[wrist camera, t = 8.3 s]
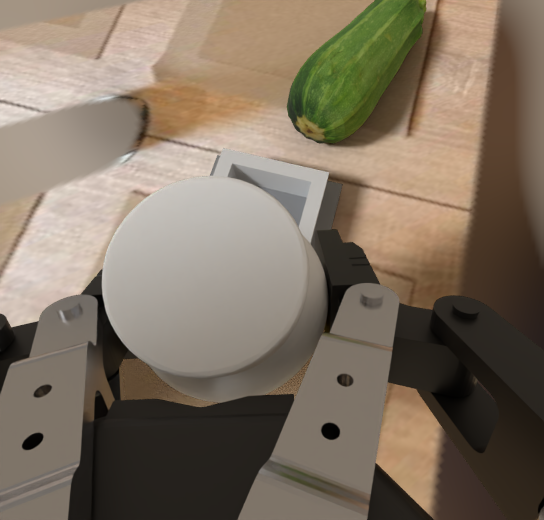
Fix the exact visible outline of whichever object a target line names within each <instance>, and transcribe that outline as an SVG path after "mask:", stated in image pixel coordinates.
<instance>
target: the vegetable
mask: <svg viewBox="0 0 544 520" xmlns="http://www.w3.org/2000/svg"><path fill="white" fill-rule="evenodd" d="M425 12H426V0H375V1H374V2H373V3H372V4H370V5H369V6H368V7H367V8H366V9H365V10H364V11H363V12H362V13H361V14H360V15H358V16H357V17H356V18H355V19H354V20H353V21H352V22H351V23H350V24H349V25H347V26H346V27H345V28H344V29H343V30H341V31H340V32H339V33H337V34H336V35H335V36H334V37H332V38H331V39H330V40H328V41H327V42H326V43H325V44H323V45H322V46H321V47H320V48H319V49H317V50H316V51H315V52H314V53H313V54H312V55H311V56H310V57H309V58H308V60H307V61H306V62H305V63H304V65H303V66H302V67H301V69H300V70H299V72H298V74H297V76H296V78H295V79H294V81H293V83H292V86H291V89H290V93H289V98H288V103H287V110H288V116H289V117H290V119H291V121H292V123H293V125H294V127H295V129H296V130H297V131H298V132H300V133H302V134H303V135H304V136H305V137H306V138H308V139H311V140H313V141H315V142H317V143H327V142H328V143H336V142H339V141H341V140H344V139H345V138H347V137H348V136H349V135H351V134H353V133H354V132H355V131H356V130H358V129H359V128H360V127H361V126H362V125H363V123H364V122H365V121H366V119H367V118H368V117H369V115H370V114H371V112H372V111H373V109H374V107H375V106H376V104H377V102H378V101H379V99H380V97H381V96H382V94H383V93H384V91H385V90H386V88H387V87H388V85H389V84H390V82H391V81H392V79H393V77H394V76H395V74H396V73H397V71H398V70H399V68H400V66H401V64H402V63H403V61H404V59H405V57H406V55H407V53H408V52H409V50H410V49H411V47H412V46H413V45H414V44H415V42H416V41H417V40H418V39H419V38H420V37H421V35H422V26H421V25H422V23H423V19H424V13H425Z"/></svg>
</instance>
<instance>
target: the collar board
mask: <svg viewBox="0 0 544 520" xmlns="http://www.w3.org/2000/svg"><path fill="white" fill-rule="evenodd" d="M328 175H329V172H325V171H321V170H316V169H312V168H308V167H303V166H299V165H295V164H290V163H286V162H282V161H277V160H273V159H269V158H264V157H260V156H256V155H251V154H247V153H243V152H238V151H234V150H230V149H225V148H223V149H222V152H221V155H220V156H219V155H217V158H216V160H215V163H214V166H213V169H212V171H211V174H210V176H221V177H230V178H234V179H240V180H242V181H245V182H248V183H250V184H253V185H255V186H257V187H259V188H261V189H263V190H264V191H266V192H267V193H269V194H270V195H272V196H273V197H274V198H275V199H277V200H278V201H279V202H280V203H281V204H282V205H283V206H284V207H285V208H286V209H287V210H288V212H289V213H290V214H291V216H292V217H293V218H294V220H295V222H296V223H297V225H298V227H299V229H300V231H301V233H302V235H303V236H304V237H305V238H306V239H307V240H308V241H309V243H310V244H311V246H312V247H313V249H314V250H315V231H316V230H331V228H332V224H333V220H334V216H335V212H336V208H337V205H338V201H339V197H340V193H341V189H342V185H343V184H339V183H335V182H331V181H327V180H328Z"/></svg>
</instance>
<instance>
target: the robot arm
mask: <svg viewBox="0 0 544 520" xmlns="http://www.w3.org/2000/svg"><path fill="white" fill-rule="evenodd" d="M315 252H316V254H317V256H318V257H319V260H320V262H321V264H322V267H323V270H324V273H325V276H326V281H327V287H328V300H329V301H328V314H327V320H326V324H325V328H324V330H325V332H323V333H322V335H321V337H320V340H319V342H318V344H317V347H316V349H315V352H314V354H313V356H312V359H311V361H310V364H309V366H308V369H307V371H306V373H305V376H304V378H303V381H302V383H301V385H300V388H299V390H298V393H297V395H296V397H295V400H294V394H282V395H254V396H246V397H242V398H238V399H234V400H230V401H226V402H222V403H218V404H215V405H211V406H207V407H194V406H189V405H184V404H179V403H175V402H170V401H165V400H160V399H143V400H125V395H124V379H123V372H122V369H121V366H120V365H121V363H122V361H123V359H134V358H138V357H136V356H135V355H134V354H133V353H132V352H131V351H130V350H129V349H128V348H127V347H126V346H125V345H124V344H123V342H122V341H121V340H120V338H119V337H118V335H117V334H116V332H115V330H114V329H113V327H112V325H111V323H110V321H109V318H108V316H107V313H106V310H105V305H104V300H103V293H102V271H103V269H101V270H100V272H99V273H98V274H97V276H96V277H95V278H94V279H93V280H92V281H91V283H90V284H89V285H88V286H87V287H86V289H85V290H84V291H83V292H82V294H81V295H75V296H70V297H66V298H64V299H61V300H59V301H57V302H55V303H53V304H51V305H50V306H48V307H47V308H46V309H45V310H44V311H43V312H42V314H41V315H40V318H39V321H38V322H33V323H29V324H25V325H20V326H16V327H11V326H10V324H9V322H8V321H7V319H6V317H5V316H4V315H2V314H0V520H434V519H433V518H432V517H431V516H430V515H429V514H428V513H427V512H426V511H425V510H423V509H422V508H421V507H420V506H419V505H418V504H417V503H416V502H415V501H414V500H413V499H412V498H411V497H410V496H409V495H408V494H407V493H406V492H405V491H404V490H403V489H402V488H401V487H400V486H399V485H398V484H397V483H396V482H395V481H394V480H393V479H392V478H391V477H390V476H389V475H388V474H387V473H386V472H385V471H384V470H383V469H382V468H381V467H380V466H379V465H378V464H376V463H375V462H376V456H377V449H378V442H379V436H380V429H381V422H382V416H383V409H384V403H385V396H386V389H387V383H388V382H389V383H393V384H398V385H402V386H406V387H411V388H415V389H417V391H418V393H419V394H420V396H421V397H422V399H423V400H424V402H425V403H426V405H427V406H428V407H429V409H430V410H431V412H432V413H433V415H434V416H435V417H436V419H437V420H438V422H439V423H440V425H441V426H442V427H443V429H444V430H445V432H446V433H447V435H448V436H449V437H450V439H451V440H452V442H453V443H454V444H455V446H456V447H457V449H458V450H459V452H460V453H461V454H462V456H463V457H464V459H465V460H466V462H467V463H468V464H469V466H470V467H471V469H472V470H473V472H474V473H475V474H476V476H477V477H478V479H479V480H480V481H481V482H482V484H483V486H484V487H485V489H486V490H487V491H488V493H489V494H490V496H491V497H492V498H493V500H494V502H495V503H496V504H497V506H498V507H499V508H500V510H501V512H502V513H503V514H504V516H505V517H506V519H507V520H544V350H542V349H541V348H540V347H539V346H537V345H536V344H535V343H534V342H532V341H531V340H530V339H529V338H527V337H526V336H525V335H524V334H522V333H521V332H520V331H519V330H517V329H516V328H515V327H513V326H512V325H511V324H510V323H508V322H507V321H506V320H505V319H504V318H502V317H501V316H500V315H499V314H497V313H496V312H495V311H494V310H492V309H491V308H489V307H488V306H487V305H485V304H484V303H482V302H480V301H477V300H475V299H472V298H468V297H464V296H445V297H442V298H439V299H438V300H436V302H435V303H434V307H433V310H429V309H423V308H417V307H411V306H407V305H404V304H401V303H399V297H398V296H397V294H396V293H395V292H394V291H392V290H391V289H389V288H387V287H385V286H382V285H380V283H379V281H378V279H377V277H376V275H375V273H374V271H373V269H372V267H371V265H370V263H369V261H368V259H366V255H365V253H364V251H363V249H362V248H360V247H359V246H357V245H356V244H354V243H353V242H348V243H343V242H342V240H341V238H340V235H339V233H338V230H337V229H333V230H316V231H315ZM477 380H479V381H480V383H481V384H482V385H483V386H484V387H485V388H486V389H487V390H488V391H489V392H490V393H491V395H492V396H493V398H494V399H495V401H496V402H495V401H494V400H493V399H492V398H491V397H490V396H489V395H488V394H487V393H486V391H485V390H484V389H483V388H482V387H481V386H480V385H479V384H478V383H477Z"/></svg>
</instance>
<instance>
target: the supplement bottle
mask: <svg viewBox="0 0 544 520" xmlns="http://www.w3.org/2000/svg"><path fill="white" fill-rule="evenodd" d="M102 293H103V300H104V305H105V310H106V313H107V316H108V318H109V321H110V323H111V325H112V327H113V329H114V330H115V332H116V334H117V335H118V337H119V338H120V340H121V341H122V342H123V344H124V345H125V346H126V347H127V348H128V349H129V350H130V351H131V352H132V353H133V354H134V355H135V356H136V357H138V358H139V359H140V360H142V361H143V362H145V363H146V364H148V365H149V367H150V368H151V369H152V370H153V371H154V372H155V373H156V375H157V376H158V377H159V378H160V379H162V380H163V381H164V382H165V383H167V384H168V385H169V386H171V387H172V388H174V389H175V390H177V391H179V392H181V393H183V394H185V395H188V396H191V397H193V398H196V399H200V400H204V401H209V402H217V403H222V402H226V401H230V400H234V399H238V398H242V397H246V396H254V395H265V394H267V393H269V392H271V391H273V390H275V389H277V388H279V387H280V386H282V385H283V384H285V383H286V382H287V381H289V380H290V379H291V378H292V377H293V376H295V375H296V374H297V373H298V372H299V371H300V370H301V369H302V367H303V366H304V365H305V364H306V363H307V361H308V360H309V359H310V357H311V356H312V354H313V353H314V351H315V349H316V347H317V344H318V342H319V340H320V337H321V335H322V333H323V331H324V328H325V324H326V320H327V314H328V301H329V300H328V287H327V281H326V276H325V273H324V270H323V267H322V264H321V262H320V260H319V257H318V256H317V254H316V252H315V250H314V249H313V247H312V246H311V244H310V243H309V241H308V240H307V239H306V238H305V237H304V236H303V235H302V233H301V231H300V229H299V227H298V225H297V223H296V222H295V220H294V218H293V217H292V216H291V214H290V213H289V212H288V210H287V209H286V208H285V207H284V206H283V205H282V204H281V203H280V202H279V201H278V200H277V199H275V198H274V197H273V196H272V195H270V194H269V193H267V192H266V191H264V190H263V189H261V188H259V187H257V186H255V185H253V184H250V183H248V182H245V181H242V180H240V179H234V178H230V177H221V176H201V177H194V178H189V179H185V180H181V181H178V182H175V183H172V184H169V185H167V186H165V187H163V188H161V189H159V190H157V191H156V192H154V193H153V194H151V195H149V196H148V197H146V198H145V199H144V200H143V201H141V202H140V203H139V204H138V205H137V206H136V207H135V208H134V209H133V210H132V211H131V212H130V213H129V214H128V215H127V216H126V217H125V219H124V220H123V222H122V223H121V225H120V226H119V227H118V229H117V230H116V232H115V234H114V236H113V238H112V240H111V242H110V244H109V247H108V250H107V253H106V255H105V260H104V265H103V271H102Z"/></svg>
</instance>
